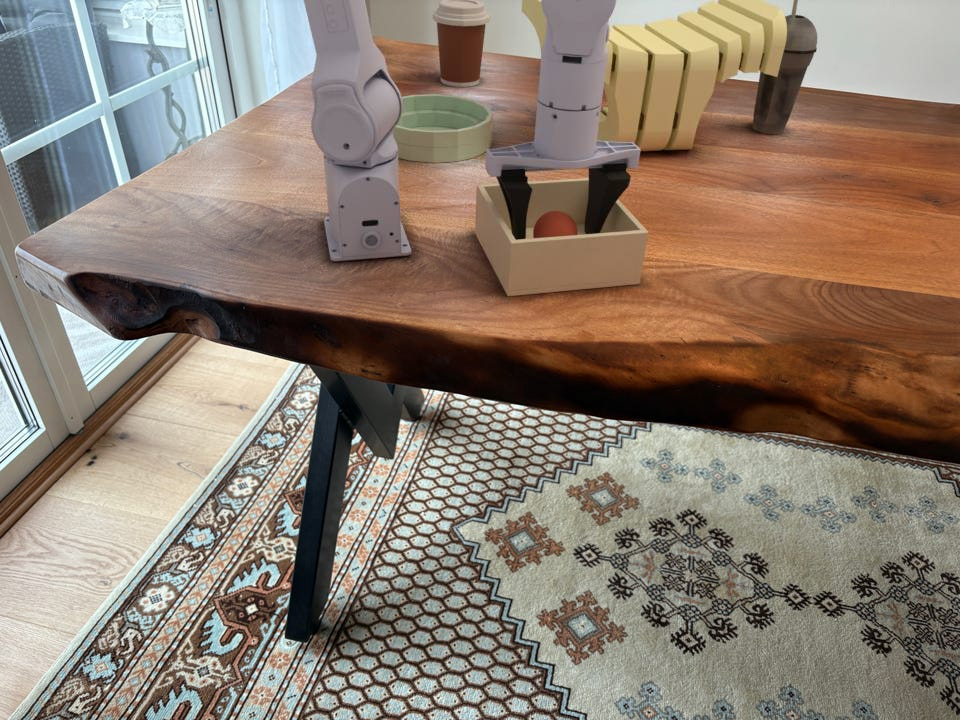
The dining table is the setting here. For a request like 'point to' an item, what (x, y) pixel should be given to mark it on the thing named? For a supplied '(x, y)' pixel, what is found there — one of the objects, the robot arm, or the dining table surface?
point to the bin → (559, 242)
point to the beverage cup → (785, 76)
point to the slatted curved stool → (678, 67)
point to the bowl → (442, 128)
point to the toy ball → (554, 225)
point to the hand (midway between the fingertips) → (554, 238)
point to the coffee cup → (460, 40)
